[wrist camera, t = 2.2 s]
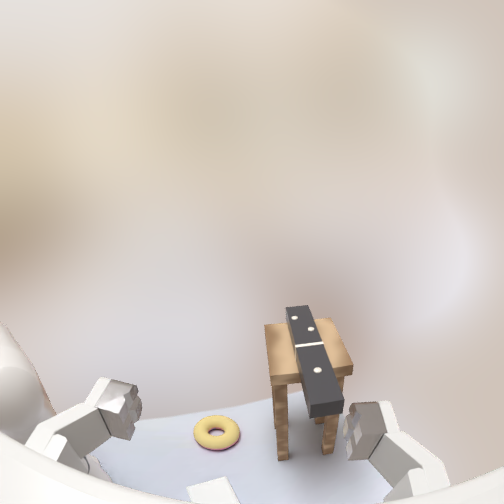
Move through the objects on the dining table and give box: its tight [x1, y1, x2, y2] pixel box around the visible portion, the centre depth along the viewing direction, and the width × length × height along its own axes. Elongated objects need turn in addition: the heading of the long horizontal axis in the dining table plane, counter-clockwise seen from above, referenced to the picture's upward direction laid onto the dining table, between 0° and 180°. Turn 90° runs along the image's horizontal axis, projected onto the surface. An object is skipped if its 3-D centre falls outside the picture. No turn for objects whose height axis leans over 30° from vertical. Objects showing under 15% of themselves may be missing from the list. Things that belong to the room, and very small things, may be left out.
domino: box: [286, 305, 344, 419], centre depth 43 cm, size 4×24×3 cm, turn 1°
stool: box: [264, 318, 353, 461], centre depth 51 cm, size 12×14×26 cm
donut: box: [194, 415, 240, 450], centre depth 58 cm, size 10×5×9 cm
